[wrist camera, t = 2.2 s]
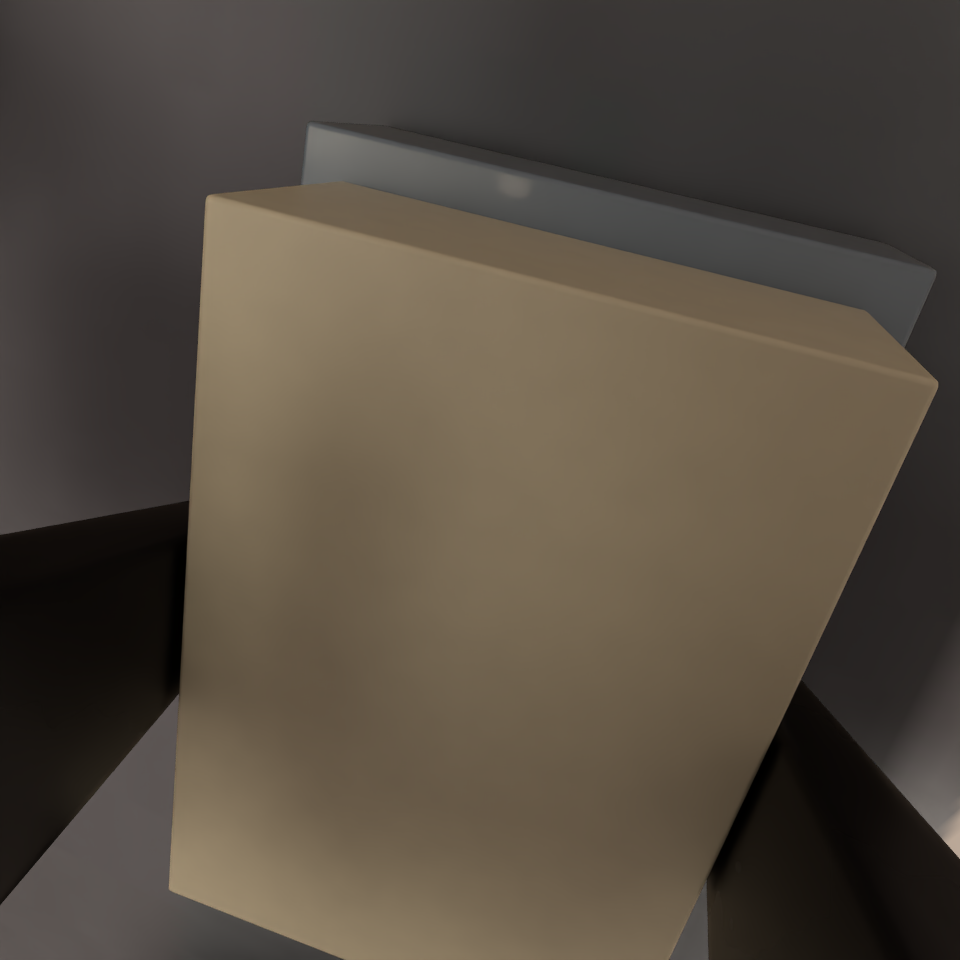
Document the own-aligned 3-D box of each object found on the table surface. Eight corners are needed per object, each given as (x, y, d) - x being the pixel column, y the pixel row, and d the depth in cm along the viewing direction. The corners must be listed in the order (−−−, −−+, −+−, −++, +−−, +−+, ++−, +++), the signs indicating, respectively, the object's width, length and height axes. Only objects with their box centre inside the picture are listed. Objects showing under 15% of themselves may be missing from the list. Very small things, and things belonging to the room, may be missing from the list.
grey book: (662, 797, 13) (656, 911, 11) (304, 674, 14) (241, 760, 12) (890, 243, 9) (940, 271, 7) (379, 124, 10) (304, 119, 8)
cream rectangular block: (635, 875, 11) (618, 1069, 9) (270, 745, 12) (166, 892, 10) (869, 310, 8) (943, 382, 5) (338, 180, 8) (202, 192, 6)
